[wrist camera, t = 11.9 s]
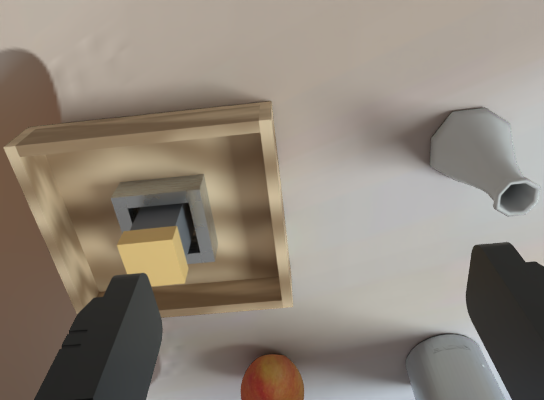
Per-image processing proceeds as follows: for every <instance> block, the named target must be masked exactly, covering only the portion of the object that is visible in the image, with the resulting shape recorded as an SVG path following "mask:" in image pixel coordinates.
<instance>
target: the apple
mask: <svg viewBox="0 0 544 400" xmlns="http://www.w3.org/2000/svg"><path fill="white" fill-rule="evenodd" d="M241 399H242V400H303V399H304V385H303V380H302V377H301V375H300V373H299V371H298V369H297V368H296V366H295V365H294V364H293V363H292V361H291V360H290V359H288V358H287V357H286V356H284V355H276V354H270V355H264V356H261V357H259V358H257V359H256V360H254V361H253V362H252V363H251V365H250V366H249V367H248V369H247V371H246V372H245V375H244V377H243V380H242V384H241Z"/></svg>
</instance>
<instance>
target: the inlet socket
mask: <svg viewBox="0 0 544 400" xmlns="http://www.w3.org/2000/svg"><path fill="white" fill-rule="evenodd" d="M111 201H112V204H113V207H114V210H115V213H116V216H117V219H118V222H119V225H120V228H121V231H122V234H123V232H124V231H130V229H131V227H132V225H133V222H134V220H135V218H136V216H137V214H138V212H139V210H140V208H141V207H148V206H158V205H169V204H179V203H189V206H190V210H191V214H192V219H193V223H194V227H195V232H196V236H192V240H191V243H190V247H189V251H188V255H187V259H186V261H187V264H195V263H206V262H215V259H216V253H217V248H218V240H217V235H216V230H215V225H214V221H213V216H212V211H211V206H210V201H209V196H208V192H207V187H206V182H205V177H204V174H199V175H189V176H178V177H168V178H158V179H148V180H138V181H127V182H120V183H119V185H118V187H117V188H116V190H115V192H114V193H113V195H112V197H111Z"/></svg>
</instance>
